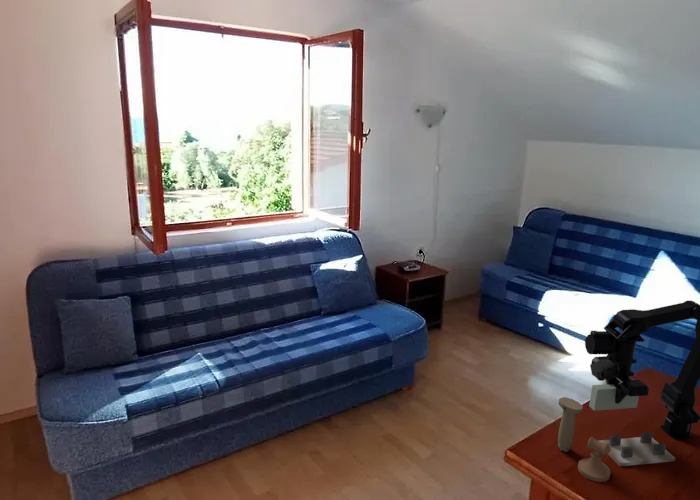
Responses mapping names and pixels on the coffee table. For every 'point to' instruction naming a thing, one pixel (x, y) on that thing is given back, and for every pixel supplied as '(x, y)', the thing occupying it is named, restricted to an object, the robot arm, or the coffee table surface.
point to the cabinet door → (609, 398)
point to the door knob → (595, 462)
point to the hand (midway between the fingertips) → (614, 400)
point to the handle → (567, 422)
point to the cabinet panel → (637, 450)
